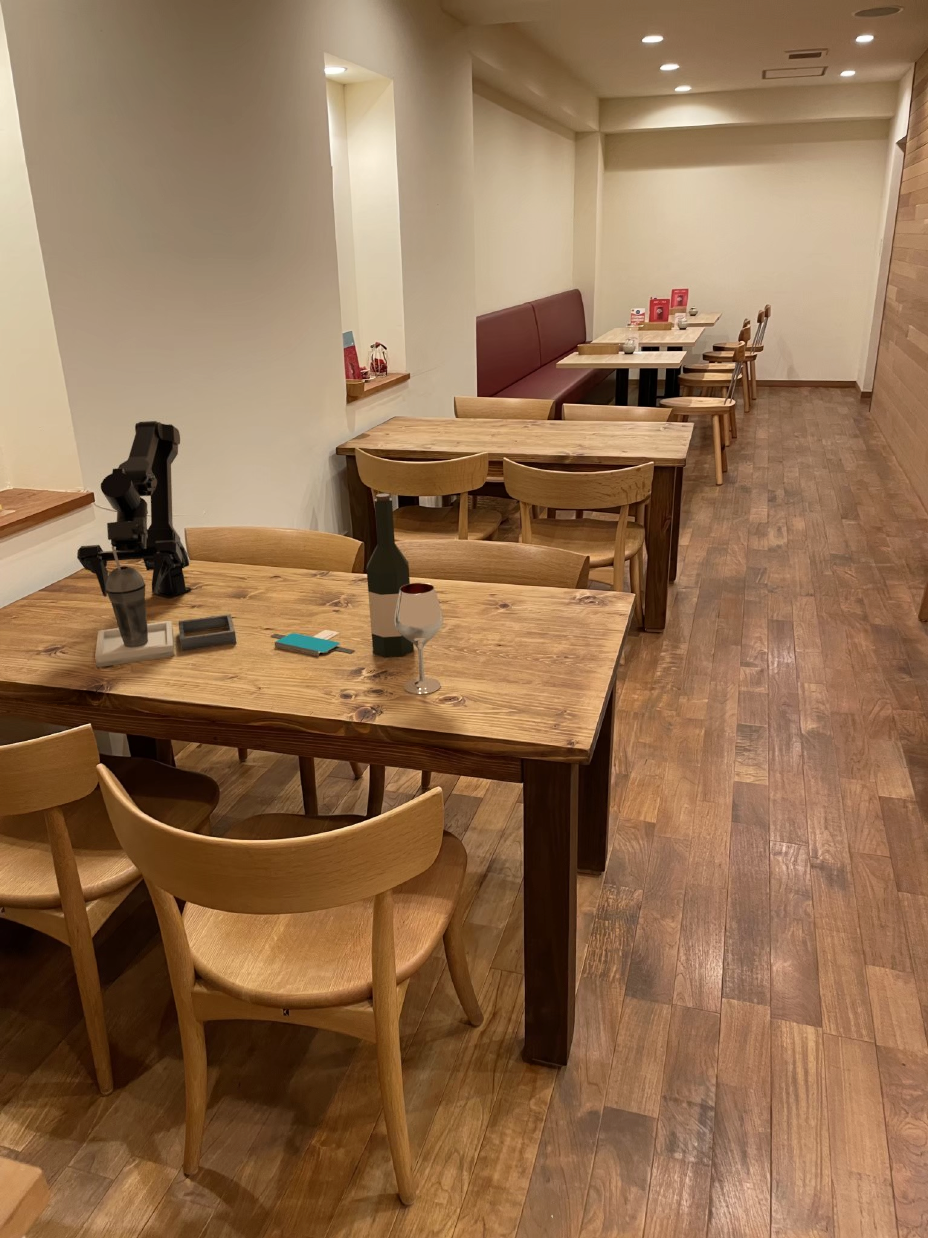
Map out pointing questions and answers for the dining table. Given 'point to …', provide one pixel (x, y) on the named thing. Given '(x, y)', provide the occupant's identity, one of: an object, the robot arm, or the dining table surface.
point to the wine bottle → (386, 584)
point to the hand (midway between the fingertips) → (129, 594)
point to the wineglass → (419, 627)
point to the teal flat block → (310, 643)
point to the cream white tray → (115, 652)
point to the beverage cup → (128, 603)
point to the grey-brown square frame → (206, 639)
